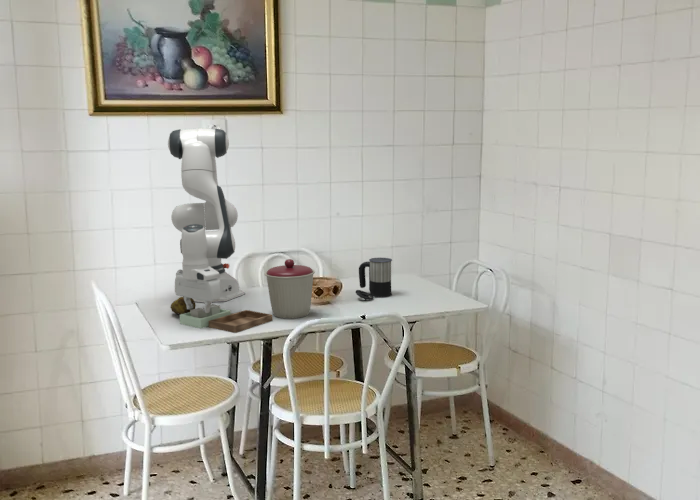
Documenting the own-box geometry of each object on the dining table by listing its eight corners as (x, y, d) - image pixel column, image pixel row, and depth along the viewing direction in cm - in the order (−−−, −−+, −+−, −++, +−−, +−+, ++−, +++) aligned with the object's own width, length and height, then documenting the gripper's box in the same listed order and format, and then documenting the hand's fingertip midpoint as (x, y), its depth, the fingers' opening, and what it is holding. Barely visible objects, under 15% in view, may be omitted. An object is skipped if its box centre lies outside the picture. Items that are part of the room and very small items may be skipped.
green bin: (210, 317, 268) (209, 306, 268) (231, 321, 262) (230, 310, 261) (180, 326, 257) (179, 314, 257) (201, 330, 251) (200, 319, 250)
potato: (192, 311, 278) (191, 290, 277) (197, 319, 266) (196, 297, 265) (170, 313, 276) (168, 292, 274) (174, 321, 264) (172, 299, 262)
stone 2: (205, 319, 262) (204, 306, 261) (213, 317, 265) (212, 304, 264) (212, 321, 259) (211, 307, 259) (220, 319, 262) (219, 305, 262)
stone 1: (191, 324, 257) (190, 310, 256) (199, 321, 260) (198, 307, 259) (198, 325, 254) (197, 311, 254) (206, 323, 257) (206, 309, 257)
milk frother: (393, 292, 301) (392, 257, 298) (390, 302, 285) (390, 264, 283) (358, 292, 302) (357, 257, 300) (354, 301, 287) (353, 264, 284)
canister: (260, 313, 272) (257, 257, 268) (306, 308, 279) (304, 253, 275) (275, 325, 255) (273, 265, 252) (323, 318, 262) (322, 260, 259)
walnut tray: (246, 317, 266) (246, 309, 266) (272, 322, 258) (272, 314, 258) (208, 329, 252) (208, 320, 252) (235, 335, 244) (235, 326, 244)
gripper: (169, 270, 258) (171, 308, 260) (208, 276, 245) (211, 316, 248) (183, 267, 263) (185, 305, 265) (222, 273, 250) (224, 312, 253)
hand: (198, 310), depth 256 cm, fingers open, 7 cm apart
